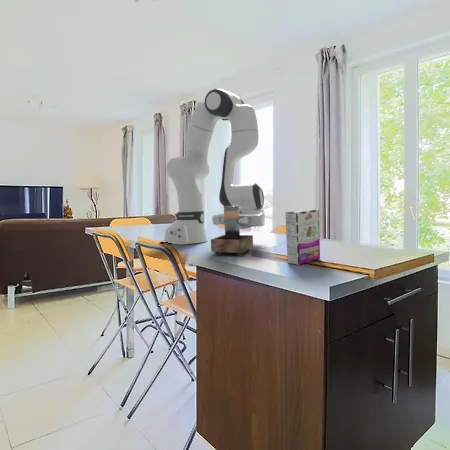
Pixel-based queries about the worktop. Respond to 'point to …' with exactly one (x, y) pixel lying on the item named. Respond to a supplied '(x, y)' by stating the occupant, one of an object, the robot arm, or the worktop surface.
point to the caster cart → (232, 244)
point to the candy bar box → (302, 236)
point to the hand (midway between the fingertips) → (230, 221)
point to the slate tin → (231, 222)
